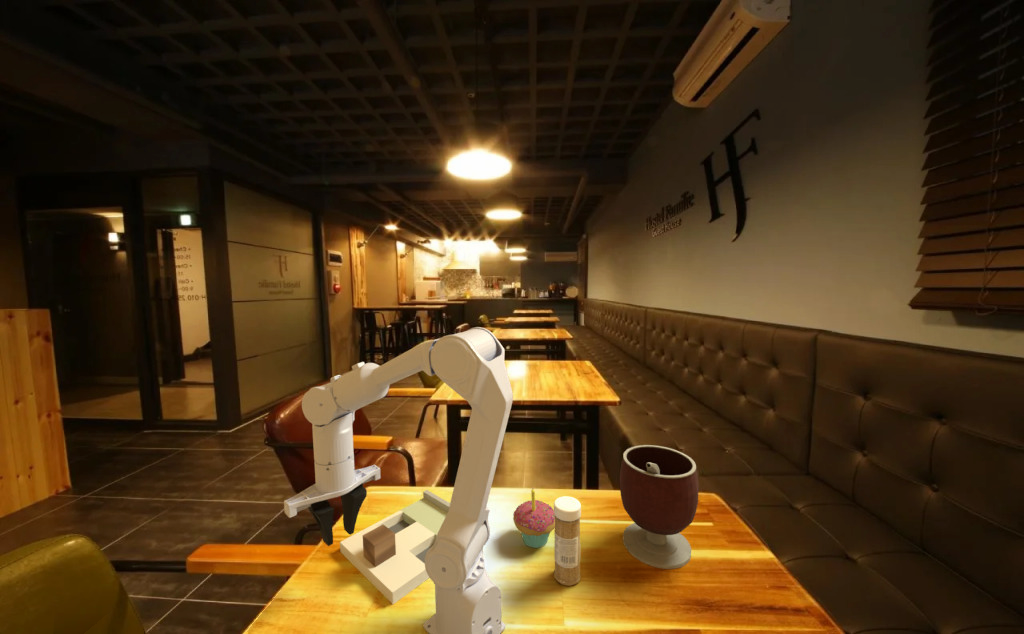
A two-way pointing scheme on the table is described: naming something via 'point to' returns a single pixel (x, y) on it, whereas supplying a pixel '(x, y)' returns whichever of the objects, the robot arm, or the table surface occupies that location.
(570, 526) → the sprinkles bottle
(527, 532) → the cupcake
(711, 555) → the table surface
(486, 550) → the table surface
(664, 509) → the mate gourd
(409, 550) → the board
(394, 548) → the walnut block
